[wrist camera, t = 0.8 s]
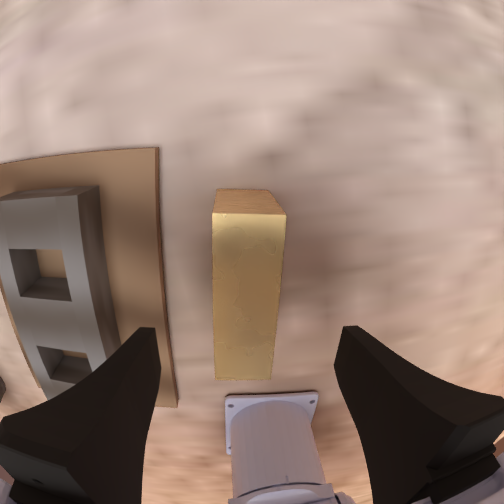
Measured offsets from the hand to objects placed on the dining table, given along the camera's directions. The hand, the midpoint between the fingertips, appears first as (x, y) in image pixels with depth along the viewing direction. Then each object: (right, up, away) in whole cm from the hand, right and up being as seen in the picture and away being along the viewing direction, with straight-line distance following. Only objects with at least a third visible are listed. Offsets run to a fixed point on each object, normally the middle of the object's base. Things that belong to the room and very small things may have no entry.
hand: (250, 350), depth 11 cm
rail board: (-13, +1, +8) cm, 15 cm away
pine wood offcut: (-1, +3, +8) cm, 9 cm away
